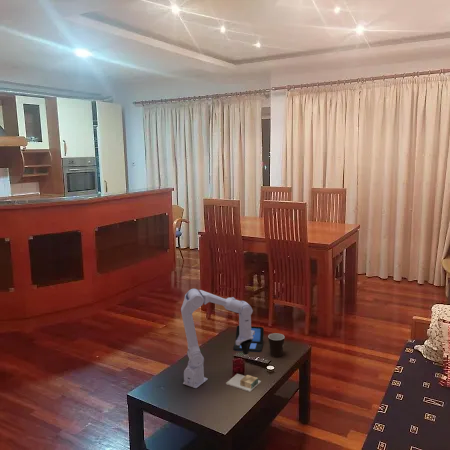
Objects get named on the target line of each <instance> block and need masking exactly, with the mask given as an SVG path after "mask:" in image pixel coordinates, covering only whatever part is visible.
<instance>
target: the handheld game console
mask: <svg viewBox="0 0 450 450" xmlns="http://www.w3.org/2000/svg"><path fill="white" fill-rule="evenodd" d="M251 330H254V331H255V335H253V341H252V343H251V345H250V348H249V352H253V353H261V352H262V350H263V347H264V333H265V331H264V330H265V329H264V327H262V326H252V325H251ZM238 337H239V325H237V326H236V330H235V342H234V344H233V347H232V348H233V350H234V351H237V352H238V351H241V352H243V350H242V347H241V345H236V340H237V339H238Z"/></svg>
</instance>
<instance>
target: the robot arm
mask: <svg viewBox="0 0 450 450" xmlns="http://www.w3.org/2000/svg"><path fill="white" fill-rule="evenodd" d="M208 303H213V304H216V305H219V306H223V308H224V309H225V310H227V311H230V312H234V313H236V314H238V317H239V318H238V326H239V337H238V339H237V340H236V339H235V342H236V345H241V347H242V350H243V351H242V354H243V355H249V352H250V351H249V348H250V345H251V343H252V341H253V335H255V331H254V330H251V326H252V314H253V312H254V310H253V308H252V306H251V305H250V303H248V302H247V301H245V300H238V299H236V298H235V297H234V296H231V297H227V298H224V297H221V296H218V295H216V294H213V293H211V292H208V291H205V290H203V289H197V288H191V289H189V290H188V291H187V292H186V293H185V295H184V299H183V302H182V304H181V308H180V313H181V318H182V324H183V327H184V331H185V336H186V342H187V352H186V355H187V357H188V362H187V366H186V368H185V369H184V370H183V382H182V385H186V386H188V387H191V388H194V389H197V388H198V387H200V386H201V385H202V384H204V383H205V382H206V381H208V378H207V377H205V375H204V374H205V370H204V369H205V368H204V363H205V358H204V356H203V354H202V353H201V349H200V346H199V342H198V336H197V333H196V332H197V330H196V328H195V323H194V322H195V321H194V317H193V313H195V311H197V310H198V309H199V308H202V306H203V305H205V306H206V305H207V304H208Z"/></svg>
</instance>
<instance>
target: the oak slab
mask: <svg viewBox="0 0 450 450" xmlns="http://www.w3.org/2000/svg"><path fill="white" fill-rule="evenodd" d="M244 376H245V377H244V378H242V379H241V380H240V385H241V386H244V387H248V388H251V389H252V388H253V387H254V386H255V385H256V384H258V380H259V377H257V376H252V375H250V374H246V375H244ZM258 385H259V384H258Z"/></svg>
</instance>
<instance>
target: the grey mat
mask: <svg viewBox="0 0 450 450" xmlns="http://www.w3.org/2000/svg"><path fill="white" fill-rule="evenodd" d="M245 376H246V375H243V374H240V373H236V374H235V375H234V376H233V377H232V378H229V380H227V382H225V385H227V386H229V387H230V386H231V387H233V388H237V389H239V390H243V391H246V392H248V393H251V392H252V391H253V390H255V388H257V386H258V385H260V384H261V383H262V380H260V379H258V384H256V385H255V386H254V387H253V388H252V389H251V388H248V387H244V386H241V385H240V380H241V379H242V378H244V377H245Z"/></svg>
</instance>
